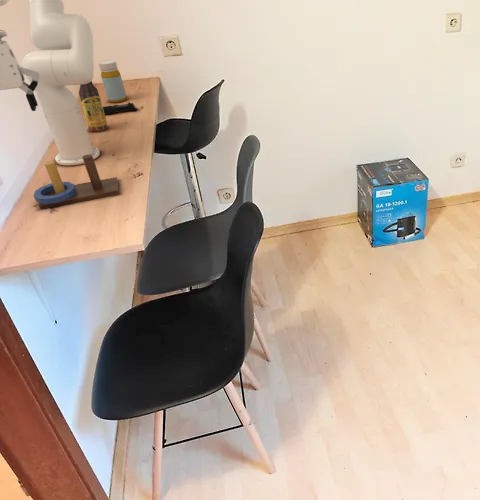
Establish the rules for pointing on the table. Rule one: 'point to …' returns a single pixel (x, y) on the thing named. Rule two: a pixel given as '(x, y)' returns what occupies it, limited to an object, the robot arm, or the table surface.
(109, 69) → the bottle
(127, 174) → the table surface
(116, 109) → the electric trimmer
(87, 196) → the rack
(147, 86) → the table surface
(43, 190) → the ring
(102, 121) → the sauce bottle
